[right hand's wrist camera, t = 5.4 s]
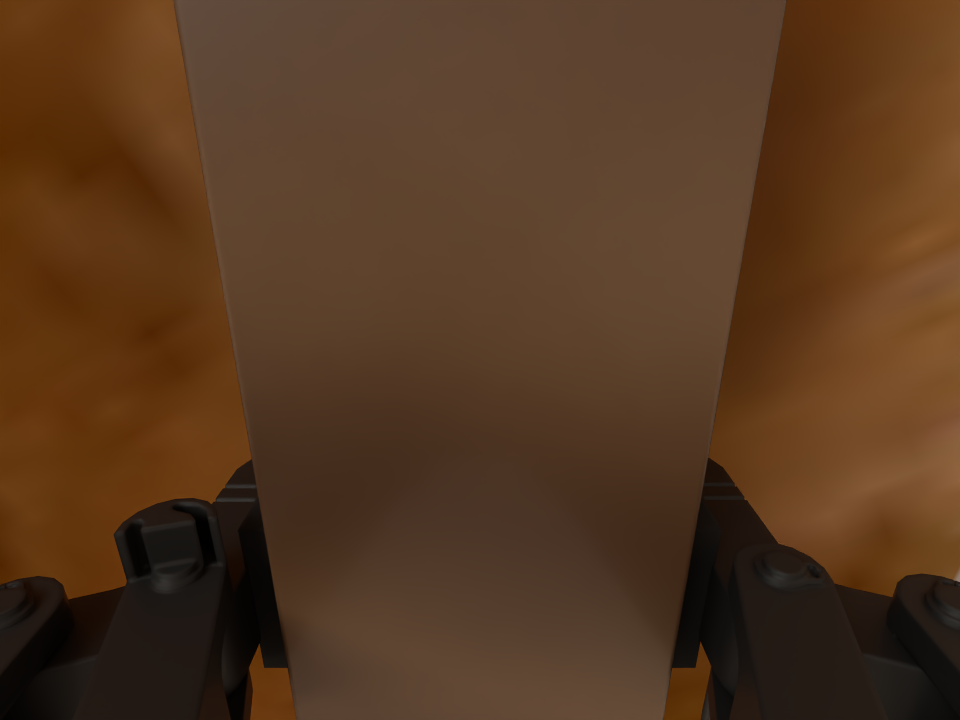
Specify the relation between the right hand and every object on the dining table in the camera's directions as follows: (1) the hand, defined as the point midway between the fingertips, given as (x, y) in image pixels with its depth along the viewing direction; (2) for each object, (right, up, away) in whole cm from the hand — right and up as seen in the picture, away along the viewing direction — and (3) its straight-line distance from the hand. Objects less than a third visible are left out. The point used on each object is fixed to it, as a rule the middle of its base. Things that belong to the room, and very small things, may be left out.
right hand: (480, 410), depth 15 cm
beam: (0, +20, -8) cm, 22 cm away
